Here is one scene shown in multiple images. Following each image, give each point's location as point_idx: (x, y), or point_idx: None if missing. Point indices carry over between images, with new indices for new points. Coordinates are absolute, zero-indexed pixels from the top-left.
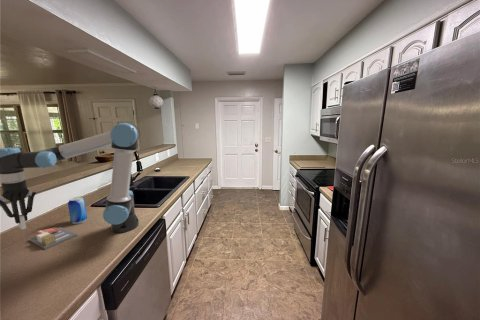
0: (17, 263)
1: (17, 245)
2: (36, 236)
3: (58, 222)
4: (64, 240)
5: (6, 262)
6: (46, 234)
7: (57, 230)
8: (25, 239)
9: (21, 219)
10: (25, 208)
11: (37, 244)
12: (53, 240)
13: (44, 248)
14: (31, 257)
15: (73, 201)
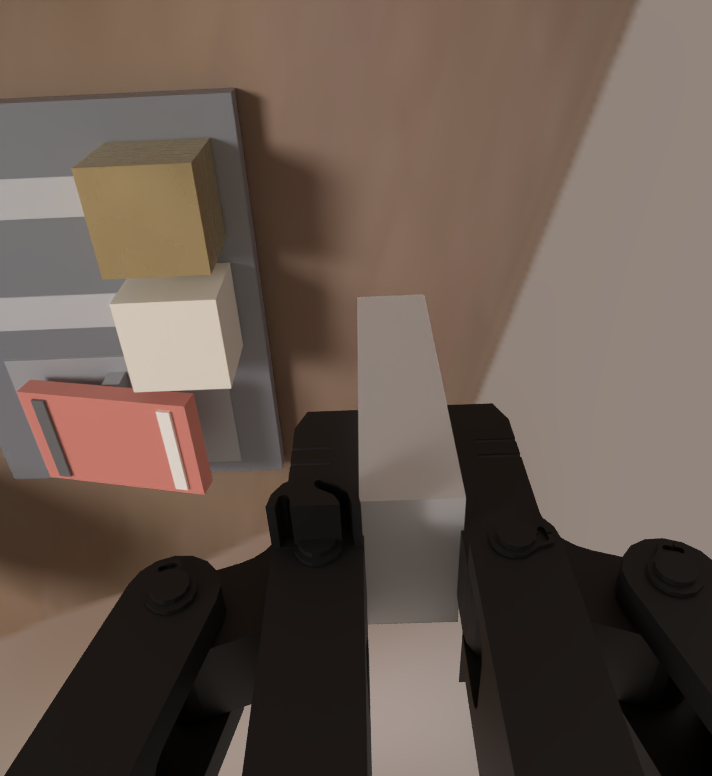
0: (518, 24)
1: None
2: (225, 460)
3: (24, 597)
4: (17, 100)
5: (552, 176)
6: (146, 313)
7: (39, 389)
8: None
9: (424, 434)
10: (263, 743)
11: (260, 293)
12: (116, 150)
13: (236, 111)
14: (389, 26)
15: None
